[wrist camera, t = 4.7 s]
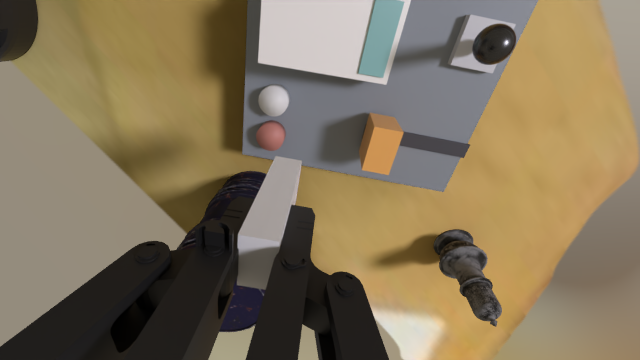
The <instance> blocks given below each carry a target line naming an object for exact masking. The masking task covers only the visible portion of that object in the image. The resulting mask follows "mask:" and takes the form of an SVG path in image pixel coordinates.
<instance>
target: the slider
mask: <svg viewBox="0 0 640 360" xmlns="http://www.w3.org/2000/svg"><path fill="white" fill-rule="evenodd" d="M403 133H404V132H403V130H402V129H401V127H400V125H399V123H398V122H397V120H396V118H395V117H390V116H385V115H380V114H375V113H369V117H368V120H367V124H366V128H365V131H364V135H363V138H362V142H361V146H360V149H359V155H360V162H361V168H362V170H364V171H369V172H375V173H380V174H385V175H389V173H390V170H391V167H392V164H393V161H394V159H395V156H396V153H397V150H398V147H399V144H400V142H401V139H402V136H403Z"/></svg>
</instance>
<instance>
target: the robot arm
mask: <svg viewBox="0 0 640 360" xmlns="http://www.w3.org/2000/svg"><path fill="white" fill-rule="evenodd" d="M37 23H38V16H37V6H36V1H35V0H0V62H1V61H9V60H13V59H16V58H18V57H20V56H21V55H23V54H24V53H25V52H26V51H27V50H28V49H29V48H30V46H31V45H32V43H33V41H34V39H35V35H36V31H37ZM301 164H302V161H301V160H295V159H290V158H284V157H278V156H276V157H275V159H274V161H273V163H272V165H271V167H270V169H269V171H268V173H267V175H266V177H265V179H264V181H263V184H262V186H261V188H260V190H259V192H258V194H257V196H256V198H255V199H252V198H246V197H241V196H239V197H237V198H236V199H234V200H233V201H231V202H230V204H229V206H228V207H227V210H226V211H225V212H224V214H223V216H222V217H221V219H220V220H210V221H205V222H203V223H201V224H199V225H198V226H197V227H196V228H195V238H196V247H194V248H191V249H185V250H174V251H170V249H169V247H168V245H166V244H165V243H163V242H158V241H149V242H145V243H142V244H139V245H137V246H135V247H134V248H132V249H131V250H129V251H128V252H126V253H125V254H124V255H122V256H121V257H120V258H119V259H117V260H116V261H114V262H113V263H112V264H110V265H109V266H108V267H106V268H105V269H104V270H102V271H101V272H100V273H98V274H97V275H96V276H95V277H93V278H92V279H91V280H89V281H88V282H87V283H85V284H84V285H82V286H81V287H80V288H78V289H77V290H76V291H74V292H73V293H72V294H70V295H69V296H68V297H66V298H65V299H64V300H62V301H61V302H59V303H58V304H57V305H56V306H54V307H53V308H51V309H50V310H49V311H48V312H46V313H45V314H43V315H42V316H41V317H39V318H38V319H37V320H35V321H34V322H33V323H31V324H30V325H29V326H27V327H26V328H25V329H24V330H22V331H21V332H19V333H18V334H17V335H15V336H14V337H13V338H11V339H10V340H9V341H7V342H6V343H5V344H3V345H2V346H1V347H0V360H208V358H209V356H210V353H211V351H212V348H213V346H214V343H215V340H216V338H217V335H218V333H219V330H220V328H221V325H222V322H223V320H224V317H225V315H226V312H227V310H228V307H229V304H230V302H231V299H232V295H233V286H234V284H235V281H236V279H237V285H240V286H246V287H252V288H258V289H264V290H265V293H264V297H263V300H262V304H261V307H260V311H259V314H258V318H257V322H256V325H255V329H254V332H253V336H252V340H251V343H250V346H249V350H248V354H247V357H246V360H298V352H299V345H300V338H301V330H302V324H303V325H305V326H307V327H309V328H310V329H312V330H314V331H315V338H316V345H317V351H318V358H319V360H389V358H388V355H387V353H386V350H385V347H384V344H383V341H382V339H381V336H380V333H379V330H378V327H377V324H376V321H375V319H374V316H373V313H372V310H371V307H370V305H369V302H368V299H367V296H366V293H365V290H364V288H363V285H362V284H361V282H360V280H359V279H358V278H356V277H355V276H354V275H352V274H350V273H348V272H336V273H333V274H332V275H328V274H326V273H324V272H322V271H321V270H319V269H318V268H317V267H315V266H314V264H313V263H312V261H311V258H310V252H311V244H312V236H313V229H314V221H315V214H314V212H313V210H312V208H307V207H302V206H296V205H295V202H296V197H297V190H298V184H299V177H300V171H301Z"/></svg>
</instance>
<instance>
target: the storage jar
mask: <svg viewBox="0 0 640 360" xmlns="http://www.w3.org/2000/svg"><path fill="white" fill-rule="evenodd" d="M266 175H267V174H265V173H262V172H256V171H246V172H241V173H238V174H236V175H234V176H232V177H231V178H230V179H229V180H228V181H227V182H226V183H225V184H224V186H223V188H221V189H220V190H219V191H218V193H217V194H216V195H215V197H214V198H213V199H212V200H211V202H210V203H209V205H208V207H207V209H206V212H205V216H204V218H203V219H202V220H201V222H200V223H199V224H201V223H203V222H205V221H210V220H220V219H221V217H222V216H223V214H224V212H225V211H226V210H227V207H228V206H229V204H230V202H231V201H233V200H234V199H236V198H237V197H239V196H241V197H246V198H252V199H255V198H256V196H257V194H258V192H259V190H260V188H261V186H262V184H263V181H264V179H265V177H266ZM199 224H198V225H199ZM198 225H196V226H195V227H194V228H193V229H192V230H191V231H189V233H188V234H187V235H186V237H185V239H184V240H183V241H182V243H181V244H180V245H179V247H178V248H177V250H185V249H191V248H194V247H196V238H195V228H196V227H197V226H198ZM264 293H265V290H264V289H258V288H252V287H246V286H240V285H237V279H236V281H235V284H234V286H233V295H232V299H231V302H230V304H229V307H228V310H227V312H226V315H225V317H224V320H223V322H222V325H221V328H220V330H219V332H237V331H242V330H245V329H248V328H251V327H253V326H255V325H256V322H257V318H258V314H259V311H260V307H261V304H262V300H263V297H264Z"/></svg>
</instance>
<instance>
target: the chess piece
mask: <svg viewBox="0 0 640 360" xmlns="http://www.w3.org/2000/svg"><path fill="white" fill-rule="evenodd" d="M434 250H435V252H436V253H437V254H438V255H440V262H439V267H440V270H441V272H442V273H443V274H444V275H446V276H448V277H451V278H456V279H457V280H458V282H459V284H460V293H461V294H462V295H463V296H465V297H466V298H467V300H468V302H469V304H470V306H471V308H472V311H473V313H474V314H475V316H476V317H477V318H479V319H480V320H483V321H491V322H490V324H492V325H493V326H495V327H496V325H497V321H495V319H497V318H498V317H499V316H500V315H501V313H502V308H501V305H500V303H499V302H498V300H497V298H496V296H495V295H494V293H493V291H492V286H493V285H492V282H491V281H490V280H489V279H487V278H485V276H484V274H483V272H482V270H483V269H484V268H485V266H486V264H487V255H486V254H485V252H484V251H483V250H481V249H480V248H478V247H477V246H475V245H474V244H473V238H472V236H471V235H470V233H468V232H466V231H464V230H457V229H455V230H449V231H446V232H444V233H442V234H441V235H439V236H438V237H437V239H436V240H435V242H434Z"/></svg>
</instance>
